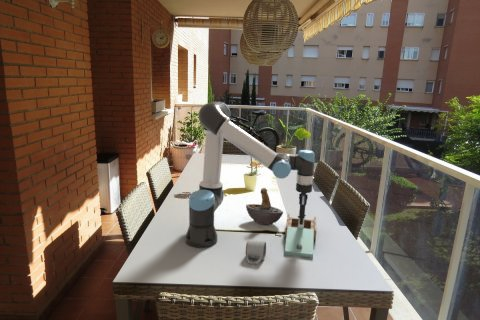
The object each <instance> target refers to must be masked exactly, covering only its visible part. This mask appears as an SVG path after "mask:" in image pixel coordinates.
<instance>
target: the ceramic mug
mask: <svg viewBox="0 0 480 320" xmlns="http://www.w3.org/2000/svg"><path fill="white" fill-rule="evenodd" d="M266 254H267V242H266V241H265V240H247V242H246V244H245V256H246V261H247V262H248V263H249V265H252V266H253V265H257V264H259V263H260V262H261V260H262V261H264V260H265V259H266V256H267V255H266ZM249 258H250V259H257V260H255V261H251V260H249Z"/></svg>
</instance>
